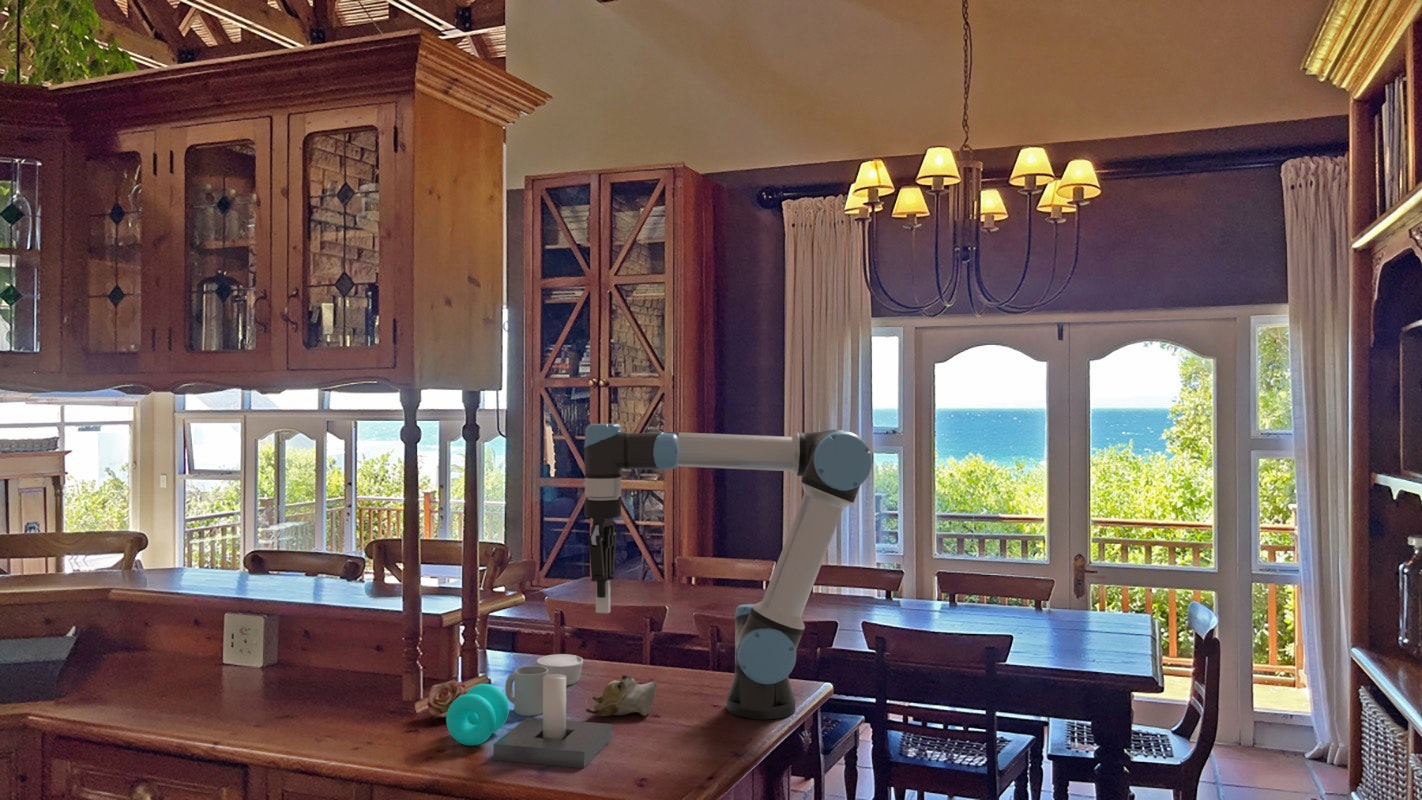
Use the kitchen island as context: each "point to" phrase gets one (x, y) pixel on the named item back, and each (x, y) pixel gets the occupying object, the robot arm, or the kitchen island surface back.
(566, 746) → the block
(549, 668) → the ramekin
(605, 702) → the ceramic sculpture
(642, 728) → the kitchen island surface
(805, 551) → the robot arm
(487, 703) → the turquoise yo-yo
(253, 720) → the kitchen island surface
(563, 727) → the white tapered capsule
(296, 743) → the kitchen island surface
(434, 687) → the flower
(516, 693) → the cup
